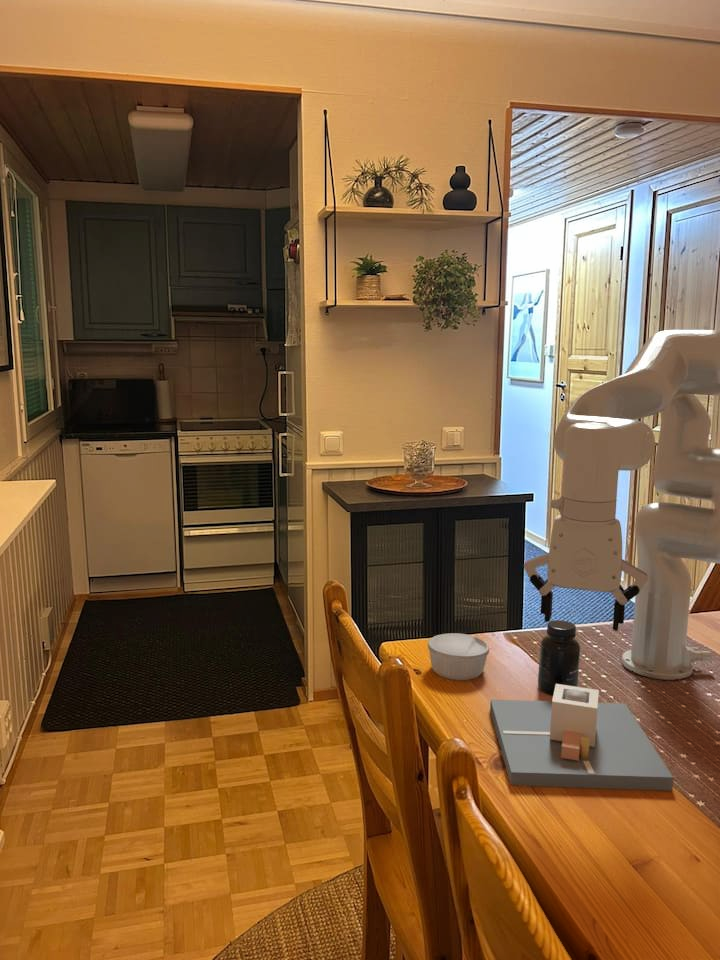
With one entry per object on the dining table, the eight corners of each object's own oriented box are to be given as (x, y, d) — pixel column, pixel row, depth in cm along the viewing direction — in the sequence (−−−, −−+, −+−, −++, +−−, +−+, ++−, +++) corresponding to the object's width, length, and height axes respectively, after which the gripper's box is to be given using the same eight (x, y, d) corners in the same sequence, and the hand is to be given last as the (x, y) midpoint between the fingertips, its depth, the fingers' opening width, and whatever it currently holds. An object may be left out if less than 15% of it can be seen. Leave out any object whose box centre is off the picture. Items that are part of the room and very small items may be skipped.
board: (624, 714, 127) (628, 665, 126) (672, 790, 106) (677, 732, 104) (490, 710, 128) (492, 661, 127) (510, 785, 106) (513, 727, 105)
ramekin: (497, 680, 140) (498, 653, 139) (439, 686, 137) (440, 658, 136) (473, 656, 151) (474, 630, 150) (419, 661, 148) (420, 635, 147)
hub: (553, 719, 120) (555, 683, 119) (596, 726, 118) (598, 690, 117) (546, 755, 110) (548, 715, 109) (593, 763, 108) (596, 723, 107)
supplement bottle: (578, 699, 132) (583, 633, 130) (538, 695, 134) (541, 630, 132) (576, 683, 139) (580, 619, 137) (537, 679, 140) (540, 616, 138)
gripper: (523, 510, 110) (518, 624, 113) (652, 520, 104) (643, 640, 107) (530, 500, 117) (525, 607, 120) (652, 509, 111) (643, 622, 114)
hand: (581, 623), depth 114 cm, fingers open, 9 cm apart
